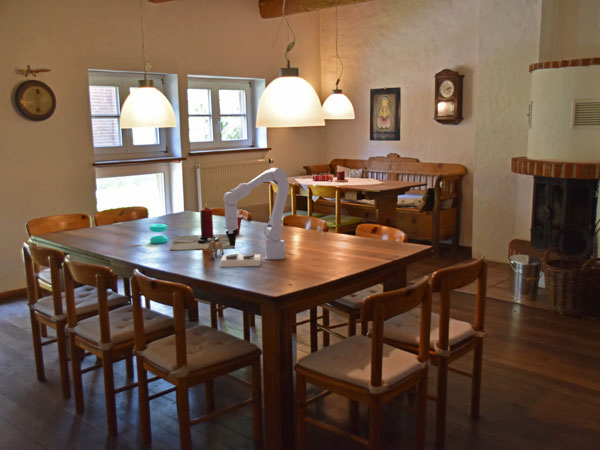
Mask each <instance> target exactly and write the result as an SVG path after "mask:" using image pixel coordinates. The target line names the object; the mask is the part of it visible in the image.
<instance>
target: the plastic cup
mask: <svg viewBox="0 0 600 450" xmlns="http://www.w3.org/2000/svg"><path fill="white" fill-rule="evenodd" d="M243 217H244V215H243V214H240V213H239V214H238V213H237V220H238V229H235V230H238V233H237V236H238V235H240V230H241V225H242V223H241V222H242V220H243Z"/></svg>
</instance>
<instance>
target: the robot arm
mask: <svg viewBox="0 0 600 450" xmlns="http://www.w3.org/2000/svg"><path fill="white" fill-rule="evenodd" d="M265 182H273V183H274V185H275V186H276V188H277V191H276V195H275V199H274V202H273V203H274V204H273V208H272V211H271V216H270V219H269V221H268V222H267V225H266V227H265V228H264V229H263V233H264V236H265V237H266V238H265V257H264V259H265V261H266V260H285V256H286V250H285V248H286V247H285V239H282V228H283V226H282V219H283V215H284V209H285V206H286V203H287V198H288V194H289V190H290V184H289V180H288V174H287V173H286V171H285V170H284V169H283V168H280V167H279V168H278V167H276V166H275V167H274V166H273V167H271V168H269V169H267V170H264V171H263V172H262V173H260V174H259V175H257V176H256V177H254V178H253V179H251V180H250V181H249V182H247V183H246V182H240V183H239V184H238V186H235V188H234V189H233V188H231V189H230V191H227V192H225V193H224V195H223V197H222V201H223V202H224V219H225V220H224V221H225V226H223V227H222V228H223V229H225V230H226V231H225V234H226V236H227V238H228V242H229V246H230V247H235V245H236V241H237V240H236V239H237V236H238V235H237V233H238V230H235V229H238V220H237V214H238V207H237V205H238V204H237V203H238V202H239V201H240V200H242V199H243V198H245V197H246V196H248V195H249V194H251V191H252V189H254V188H256V187H257V186H260V185H262V184H263V183H265Z"/></svg>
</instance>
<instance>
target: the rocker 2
mask: <svg viewBox="0 0 600 450" xmlns="http://www.w3.org/2000/svg"><path fill="white" fill-rule="evenodd" d="M243 255H244V256H243V258H244V259H245V258H248V259H250V258H251V257H254V256H255V253H254V252H253V253H247V254H243Z"/></svg>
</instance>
